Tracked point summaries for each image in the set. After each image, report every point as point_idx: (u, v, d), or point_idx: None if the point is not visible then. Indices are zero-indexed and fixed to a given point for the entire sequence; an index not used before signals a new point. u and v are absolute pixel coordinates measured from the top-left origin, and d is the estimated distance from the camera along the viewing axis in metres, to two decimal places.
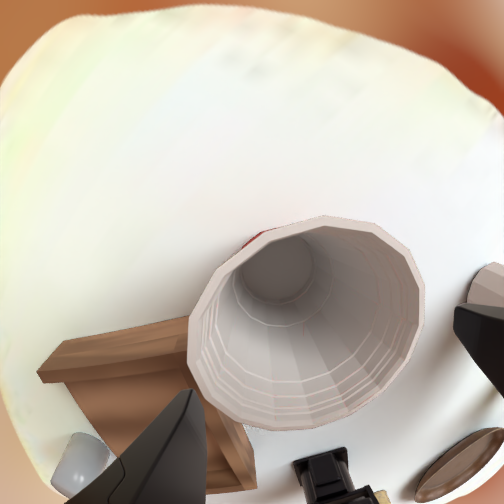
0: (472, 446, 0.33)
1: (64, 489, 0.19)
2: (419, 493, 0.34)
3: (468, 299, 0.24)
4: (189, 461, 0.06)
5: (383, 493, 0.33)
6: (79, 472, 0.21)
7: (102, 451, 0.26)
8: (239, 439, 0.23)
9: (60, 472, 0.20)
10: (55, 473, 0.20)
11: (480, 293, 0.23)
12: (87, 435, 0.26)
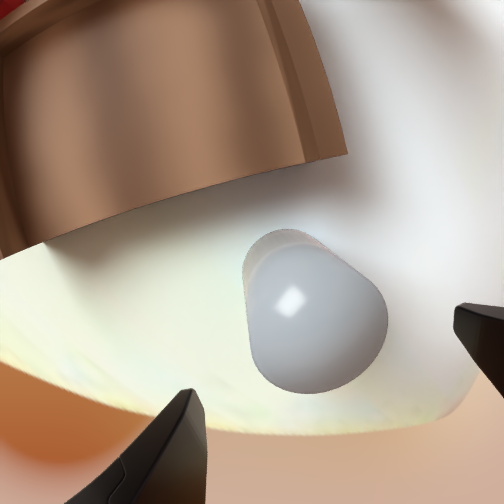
0: None
1: (313, 356, 0.10)
2: None
3: None
4: (189, 461, 0.06)
5: None
6: (257, 286, 0.12)
7: (274, 236, 0.16)
8: None
9: None
10: None
11: None
12: (243, 264, 0.18)
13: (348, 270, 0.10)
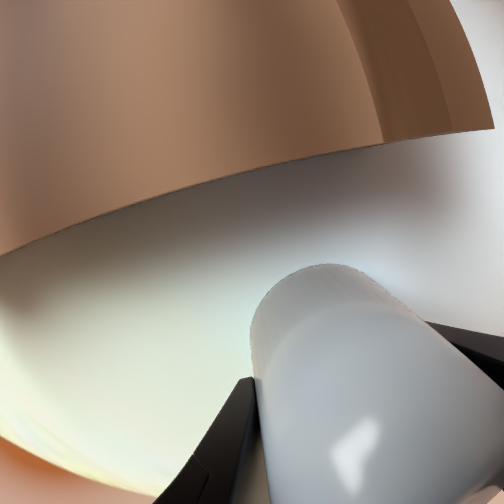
0: None
1: None
2: None
3: None
4: (260, 451, 0.06)
5: None
6: (295, 441, 0.04)
7: (309, 281, 0.09)
8: None
9: None
10: None
11: None
12: (252, 324, 0.10)
13: None
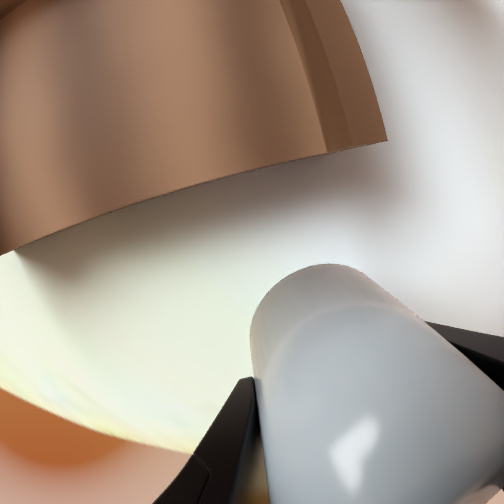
0: None
1: None
2: None
3: None
4: (260, 451, 0.06)
5: None
6: (295, 440, 0.04)
7: (309, 281, 0.09)
8: None
9: None
10: None
11: None
12: (252, 324, 0.10)
13: None
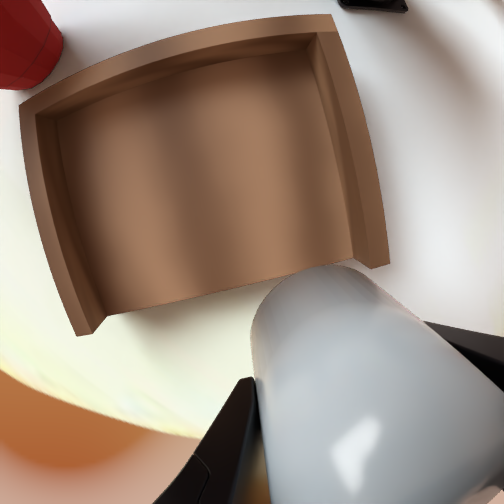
0: None
1: None
2: None
3: None
4: (260, 451, 0.06)
5: None
6: (296, 443, 0.04)
7: (309, 282, 0.09)
8: None
9: None
10: None
11: None
12: (252, 325, 0.10)
13: None
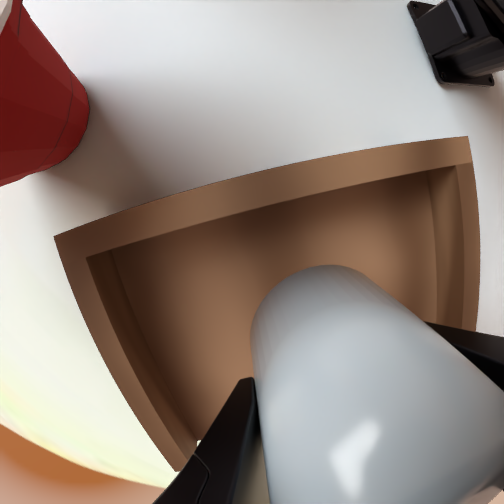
0: None
1: None
2: None
3: None
4: (260, 451, 0.06)
5: None
6: (295, 442, 0.04)
7: (309, 282, 0.09)
8: None
9: None
10: None
11: None
12: (252, 325, 0.10)
13: None
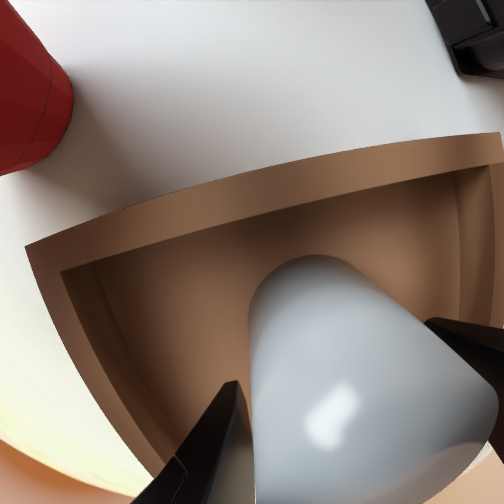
0: None
1: (367, 502, 0.04)
2: None
3: None
4: (242, 454, 0.06)
5: None
6: (273, 387, 0.05)
7: (298, 268, 0.10)
8: None
9: None
10: None
11: None
12: (249, 307, 0.11)
13: (466, 377, 0.03)
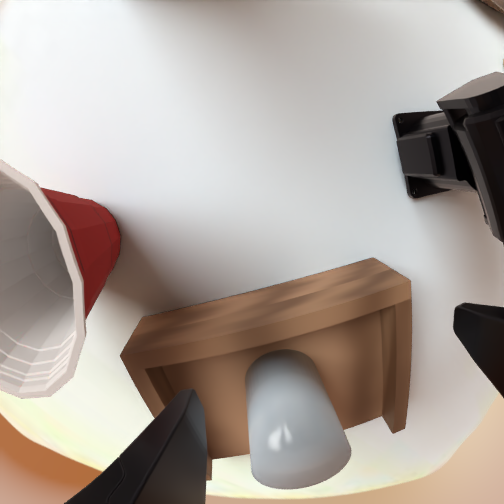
0: None
1: (295, 473, 0.12)
2: None
3: None
4: (189, 461, 0.06)
5: None
6: (256, 427, 0.14)
7: (271, 361, 0.18)
8: (306, 296, 0.18)
9: None
10: None
11: None
12: (245, 376, 0.20)
13: (321, 433, 0.12)
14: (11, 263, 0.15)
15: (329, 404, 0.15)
